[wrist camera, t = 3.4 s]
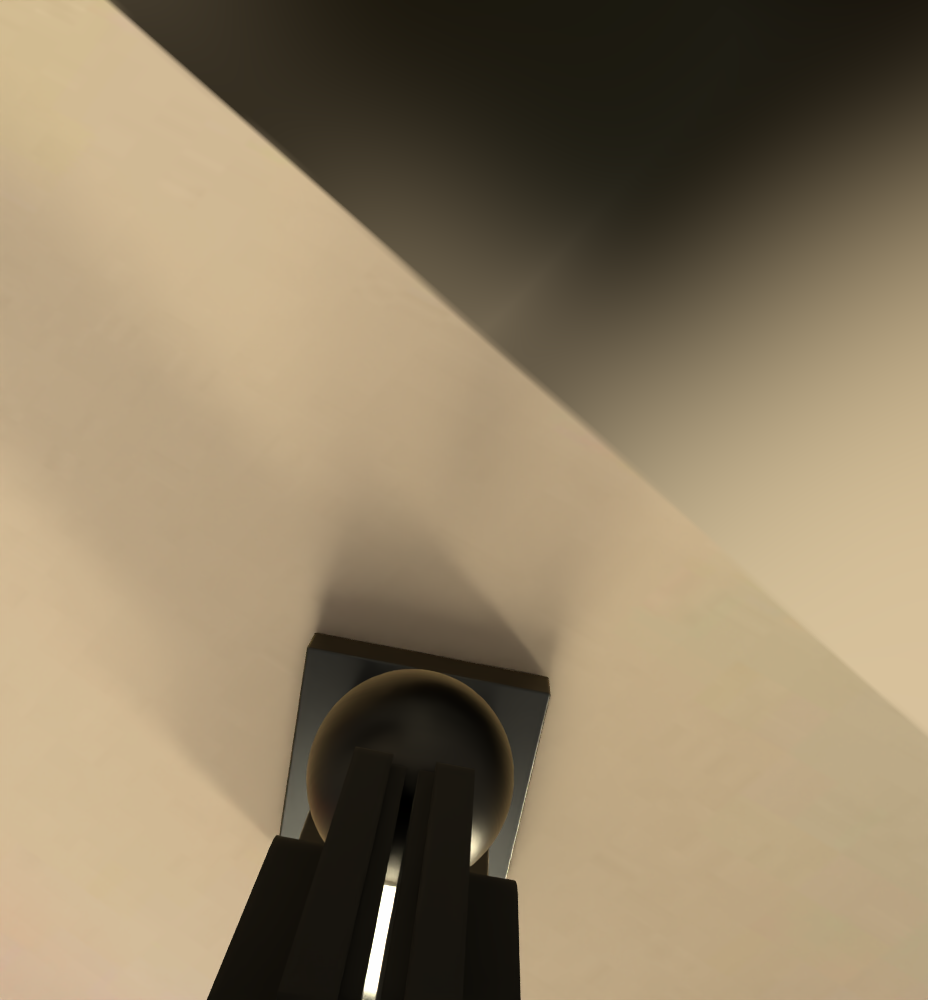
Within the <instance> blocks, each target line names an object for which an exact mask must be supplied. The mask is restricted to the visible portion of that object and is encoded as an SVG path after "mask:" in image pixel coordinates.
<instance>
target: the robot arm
mask: <svg viewBox="0 0 928 1000" xmlns="http://www.w3.org/2000/svg"><path fill="white" fill-rule="evenodd" d="M393 756H394V754H393V753H387V752H382V751H377V750H372V749H367V748H361V747H355V749H354V752H353V755H352V758H351V762H350V765H349V768H348V771H347V774H346V777H345V780H344V784H343V787H342V790H341V793H340V796H339V799H338V803H337V806H336V809H335V812H334V815H333V818H332V821H331V825H330V828H329V831H328V834H327V837H326V840H325V843H324V844H321V843H315V842H310V841H305V840H300V839H294V838H289V837H284V836H279V835H277V836H276V837H275V838H274V839H273V842H272V844H271V846H270V848H269V850H268V853H267V855H266V858H265V860H264V863H263V865H262V867H261V870H260V872H259V875H258V877H257V879H256V882H255V884H254V887H253V889H252V892H251V894H250V896H249V899H248V901H247V904H246V906H245V909H244V911H243V913H242V916H241V918H240V921H239V923H238V926H237V928H236V930H235V933H234V935H233V938H232V940H231V942H230V945H229V947H228V950H227V952H226V955H225V957H224V959H223V962H222V964H221V967H220V969H219V972H218V974H217V976H216V979H215V981H214V984H213V986H212V989H211V991H210V993H209V996H208V998H207V1000H362V997H363V992H364V987H365V982H366V976H367V971H368V966H369V961H370V956H371V951H372V946H373V941H374V935H375V930H376V925H377V920H378V915H379V910H380V904H381V899H382V894H383V889H384V884H385V878H386V873H387V868H388V863H389V858H390V852H391V847H392V842H393V837H394V832H395V826H396V821H397V816H398V811H399V806H400V800H401V795H402V790H403V785H404V780H405V774H406V769H407V767H402V766H397V765H392V762H393ZM474 781H475V769H471V768H466V767H460V766H455V765H450V764H445V763H440V762H436V766H435V770H434V772H428V771H423V770H419V774H418V779H417V784H416V789H415V794H414V799H413V804H412V810H411V815H410V820H409V825H408V830H407V835H406V840H405V845H404V850H403V855H402V860H401V865H400V870H399V875H398V881H397V886H396V891H395V896H394V901H393V906H392V911H391V916H390V921H389V926H388V931H387V937H386V942H385V947H384V953H383V958H382V964H381V969H380V975H379V981H378V986H377V992H376V998H375V1000H521V999H520V961H519V923H518V891H517V884H516V881H514V880H509V879H504V878H499V877H493V876H488V875H483V874H478V873H472V872H470V854H471V836H472V818H473V800H474Z"/></svg>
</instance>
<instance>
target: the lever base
mask: <svg viewBox="0 0 928 1000" xmlns="http://www.w3.org/2000/svg"><path fill="white" fill-rule="evenodd" d="M402 669H422V670H429V671H434V672H438V673H441V674H444V675H447V676H450V677H452V678H454V679H457V680H459V681H460V682H462V683H464V684H465V685H467V686H468V687H470V688H471V689H472V690H474V691H475V692H476V693H477V694H478V695H479V696H481V697H482V698H483V699H484V700H485V701H486V703H487V704H488V705H489V706H490V707H491V709H492V710H493V711H494V713H495V714H496V716H497V717H498V719H499V721H500V723H501V725H502V726H503V728H504V731H505V733H506V735H507V738H508V741H509V744H510V748H511V753H512V758H513V765H514V787H513V794H512V800H511V804H510V808H509V811H508V815H507V817H506V820H505V822H504V824H503V826H502V828H501V830H500V832H499V834H498V836H497V837H496V839H495V840H494V842H493V843H492V845H491V846H490V847H489V849H488V850H487V851H486V852H485V853H484V854H483V855H482V856H481V857H480V859H479V860H477V861H476V862H475V863H474V864H473V865H471V866H470V872H472V873H478V874H483V875H488V876H493V877H499V878H504V879H506V878H507V874H508V870H509V866H510V862H511V857H512V853H513V849H514V845H515V841H516V837H517V832H518V828H519V824H520V820H521V816H522V812H523V807H524V803H525V799H526V795H527V791H528V787H529V783H530V778H531V774H532V770H533V766H534V762H535V758H536V753H537V749H538V745H539V741H540V737H541V733H542V729H543V724H544V720H545V716H546V712H547V708H548V704H549V699H550V686H549V678H548V677H544V676H539V675H534V674H529V673H523V672H518V671H513V670H508V669H503V668H497V667H492V666H487V665H482V664H476V663H471V662H466V661H461V660H456V659H450V658H445V657H440V656H435V655H430V654H424V653H419V652H414V651H409V650H404V649H398V648H393V647H388V646H383V645H377V644H372V643H367V642H362V641H357V640H351V639H346V638H341V637H336V636H331V635H325V634H320V633H315V634H314V636H313V638H312V640H311V642H310V643H309V645H308V647H307V651H306V658H305V665H304V672H303V678H302V685H301V692H300V699H299V706H298V712H297V719H296V726H295V733H294V740H293V746H292V753H291V760H290V767H289V774H288V780H287V787H286V794H285V801H284V808H283V814H282V821H281V828H280V835H279V836H284V837H289V838H294V839H300V840H305V841H310V842H315V843H321V844H324V843H325V842H324V841H323V839H322V837H321V836H320V834H319V832H318V830H317V828H316V826H315V823H314V821H313V818H312V815H311V811H310V807H309V803H308V798H307V784H306V775H307V764H308V759H309V754H310V750H311V746H312V744H313V741H314V739H315V736H316V734H317V731H318V729H319V727H320V725H321V724H322V722H323V720H324V719H325V717H326V716H327V714H328V713H329V711H330V710H331V709H332V708H333V706H334V705H335V704H336V703H337V702H338V701H339V700H340V699H341V698H342V697H343V696H344V695H345V694H347V693H348V692H349V691H350V690H351V689H353V688H354V687H356V686H357V685H359V684H361V683H362V682H364V681H366V680H368V679H370V678H372V677H375V676H377V675H380V674H383V673H386V672H390V671H394V670H402Z"/></svg>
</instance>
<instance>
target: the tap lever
mask: <svg viewBox="0 0 928 1000" xmlns="http://www.w3.org/2000/svg"><path fill="white" fill-rule="evenodd" d="M355 747H361V748H367V749H372V750H377V751H382V752H387V753H393V754H394V756H393V762H392V765H397V766H402V767H407V769H406V774H405V780H404V785H403V790H402V795H401V800H400V806H399V811H398V816H397V821H396V826H395V832H394V837H393V842H392V847H391V852H390V858H389V863H388V868H387V873H386V878H385V884H384V889H383V894H382V899H381V904H380V910H379V915H378V920H377V925H376V930H375V935H374V941H373V946H372V951H371V956H370V961H369V966H368V971H367V976H366V982H365V987H364V992H363V997H362V1000H375V998H376V992H377V986H378V981H379V975H380V969H381V964H382V958H383V953H384V947H385V942H386V937H387V931H388V926H389V921H390V916H391V911H392V906H393V901H394V896H395V891H396V886H397V881H398V875H399V870H400V865H401V860H402V855H403V850H404V845H405V840H406V835H407V830H408V825H409V820H410V815H411V810H412V804H413V799H414V794H415V789H416V784H417V779H418V774H419V770H423V771H428V772H434V770H435V766H436V762H440V763H445V764H450V765H455V766H460V767H466V768H471V769H475V781H474V800H473V818H472V836H471V854H470V866H471V865H473V864H474V863H475V862H476V861H477V860H479V859H480V857H481V856H482V855H483V854H484V853H485V852H486V851H487V850H488V849H489V847H490V846H491V845H492V843H493V842H494V840H495V839H496V837H497V836H498V834H499V832H500V830H501V828H502V826H503V824H504V822H505V820H506V817H507V815H508V811H509V808H510V804H511V800H512V794H513V787H514V765H513V758H512V753H511V748H510V744H509V741H508V738H507V735H506V733H505V731H504V728H503V726H502V725H501V723H500V721H499V719H498V717H497V716H496V714H495V713H494V711H493V710H492V709H491V707H490V706H489V705H488V704H487V703H486V701H485V700H484V699H483V698H482V697H481V696H479V695H478V694H477V693H476V692H475V691H474V690H472V689H471V688H470V687H468V686H467V685H465V684H464V683H462V682H460V681H459V680H457V679H454V678H452V677H450V676H447V675H444V674H441V673H438V672H434V671H429V670H422V669H402V670H394V671H390V672H386V673H383V674H380V675H377V676H375V677H372V678H370V679H368V680H366V681H364V682H362V683H361V684H359V685H357V686H356V687H354V688H353V689H351V690H350V691H349V692H348V693H347V694H345V695H344V696H343V697H342V698H341V699H340V700H339V701H338V702H337V703H336V704H335V705H334V706H333V708H332V709H331V710H330V711H329V713H328V714H327V716H326V717H325V719H324V720H323V722H322V724H321V725H320V727H319V729H318V731H317V734H316V736H315V739H314V741H313V744H312V746H311V750H310V754H309V759H308V764H307V775H306V784H307V798H308V803H309V807H310V811H311V815H312V818H313V821H314V823H315V826H316V828H317V830H318V832H319V834H320V836H321V837H322V839H323V841H324V842H325V840H326V837H327V834H328V831H329V828H330V825H331V821H332V818H333V815H334V812H335V809H336V806H337V803H338V799H339V796H340V793H341V790H342V787H343V784H344V780H345V777H346V774H347V771H348V768H349V765H350V762H351V758H352V755H353V752H354V749H355Z"/></svg>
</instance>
